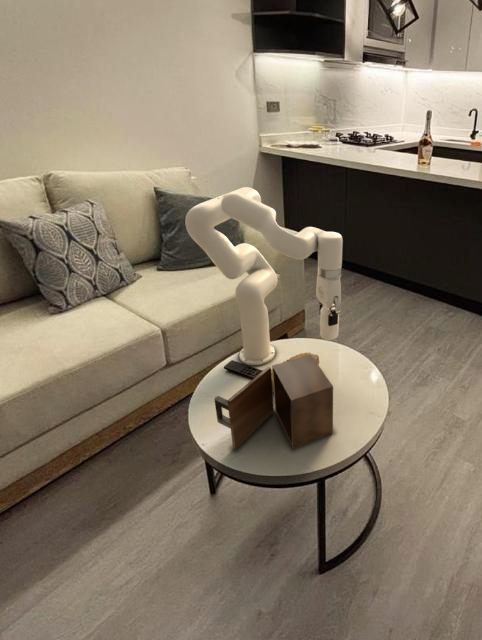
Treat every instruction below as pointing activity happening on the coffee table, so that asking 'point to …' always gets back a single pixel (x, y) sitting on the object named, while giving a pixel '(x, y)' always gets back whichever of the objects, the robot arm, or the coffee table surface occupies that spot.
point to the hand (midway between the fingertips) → (328, 319)
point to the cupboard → (303, 400)
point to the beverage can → (325, 329)
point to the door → (247, 407)
